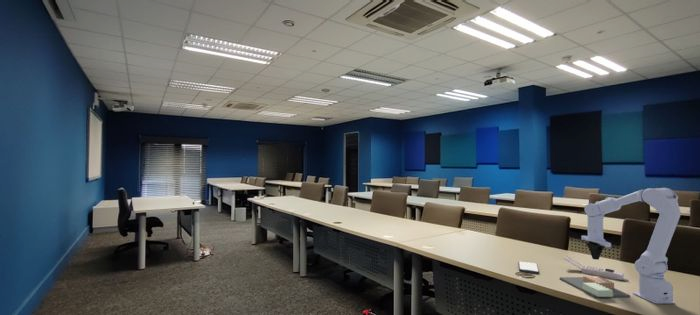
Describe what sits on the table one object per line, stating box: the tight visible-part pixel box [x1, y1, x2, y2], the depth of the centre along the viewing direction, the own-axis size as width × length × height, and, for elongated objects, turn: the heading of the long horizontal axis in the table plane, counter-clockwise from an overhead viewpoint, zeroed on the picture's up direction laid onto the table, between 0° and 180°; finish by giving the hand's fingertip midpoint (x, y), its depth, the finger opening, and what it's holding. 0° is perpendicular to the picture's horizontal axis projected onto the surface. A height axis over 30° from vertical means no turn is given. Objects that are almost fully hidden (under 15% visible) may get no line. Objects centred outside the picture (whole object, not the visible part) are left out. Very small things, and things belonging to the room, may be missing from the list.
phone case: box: [518, 261, 540, 275], centre depth 161 cm, size 9×2×16 cm
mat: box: [559, 276, 631, 298], centre depth 136 cm, size 20×14×1 cm
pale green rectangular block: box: [582, 283, 614, 298], centre depth 128 cm, size 8×6×3 cm
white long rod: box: [562, 255, 629, 282], centre depth 153 cm, size 6×6×25 cm
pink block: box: [582, 275, 615, 289], centre depth 136 cm, size 8×7×3 cm
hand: (595, 259), depth 145 cm, fingers closed
